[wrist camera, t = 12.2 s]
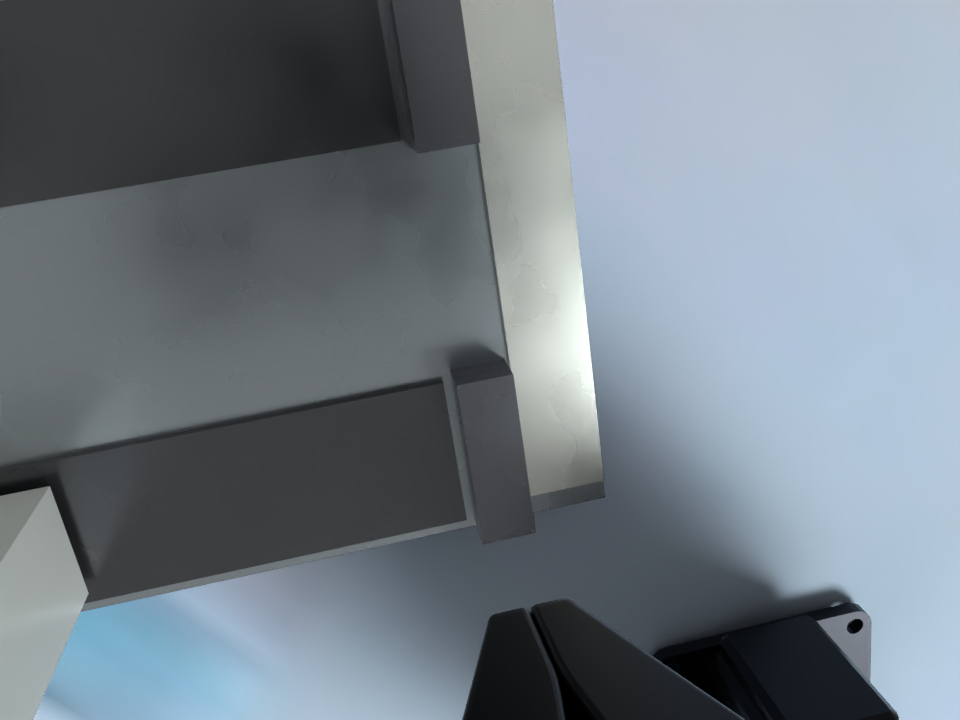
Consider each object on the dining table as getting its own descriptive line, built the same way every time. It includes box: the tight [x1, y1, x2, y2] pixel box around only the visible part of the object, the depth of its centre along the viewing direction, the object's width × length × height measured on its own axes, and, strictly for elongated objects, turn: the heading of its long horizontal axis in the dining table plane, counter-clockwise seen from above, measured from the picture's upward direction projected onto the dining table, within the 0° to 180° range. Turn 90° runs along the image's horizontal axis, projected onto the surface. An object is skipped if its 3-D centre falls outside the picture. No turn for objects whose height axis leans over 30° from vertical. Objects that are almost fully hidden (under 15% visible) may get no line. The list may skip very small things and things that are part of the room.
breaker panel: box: [0, 0, 605, 612], centre depth 16 cm, size 21×19×3 cm
